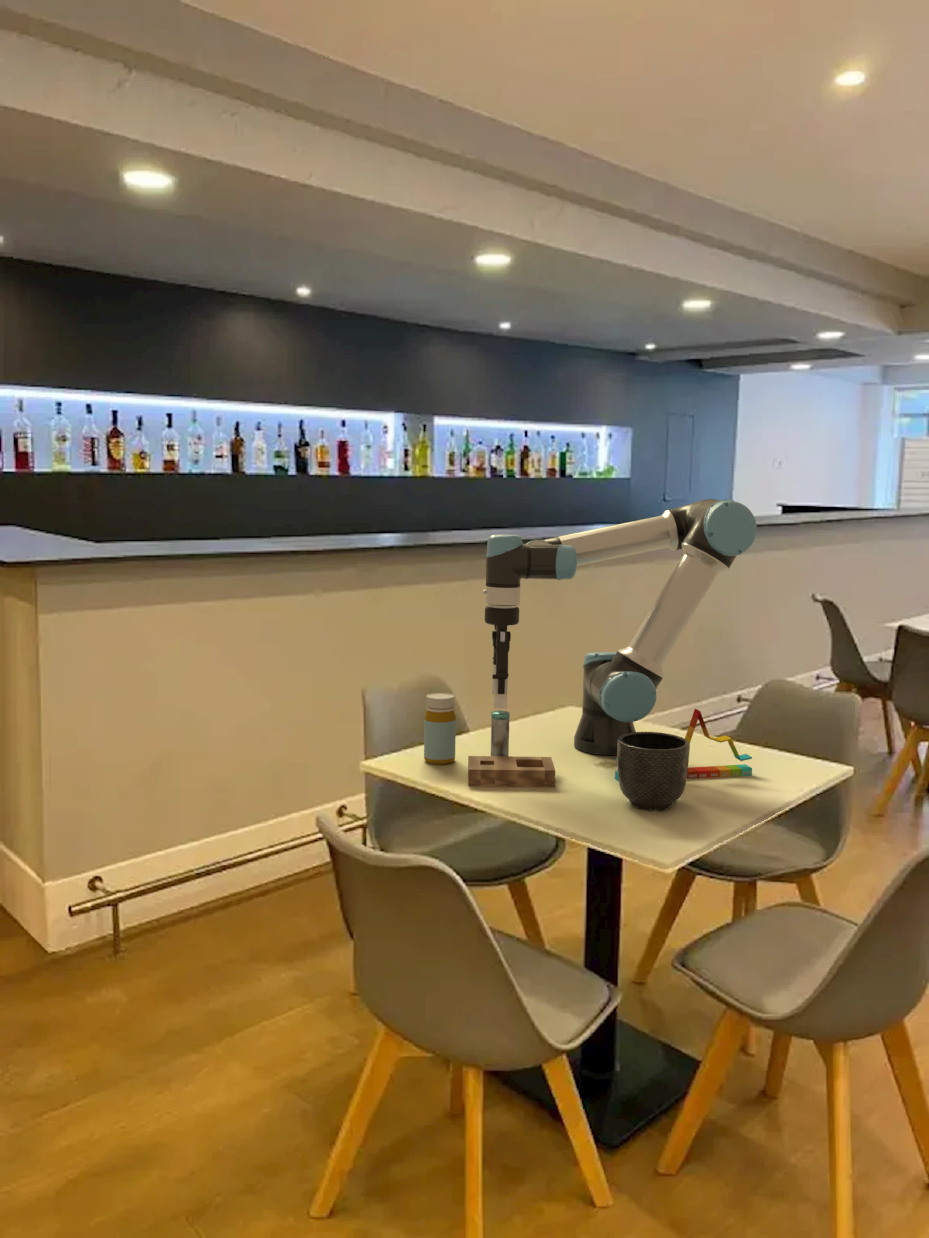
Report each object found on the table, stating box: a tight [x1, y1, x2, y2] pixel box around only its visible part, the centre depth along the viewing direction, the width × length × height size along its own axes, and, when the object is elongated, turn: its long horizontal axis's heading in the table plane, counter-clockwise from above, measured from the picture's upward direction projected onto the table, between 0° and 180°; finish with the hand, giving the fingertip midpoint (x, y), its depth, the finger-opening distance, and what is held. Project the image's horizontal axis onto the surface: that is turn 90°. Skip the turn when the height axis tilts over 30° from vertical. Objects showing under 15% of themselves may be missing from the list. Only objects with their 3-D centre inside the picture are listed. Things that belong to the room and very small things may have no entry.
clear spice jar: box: [490, 710, 510, 756], centre depth 216 cm, size 4×4×12 cm
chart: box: [614, 708, 753, 782], centre depth 209 cm, size 30×3×15 cm, turn 102°
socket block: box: [467, 755, 556, 788], centre depth 207 cm, size 18×10×4 cm, turn 90°
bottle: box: [423, 692, 457, 766], centre depth 219 cm, size 7×7×15 cm
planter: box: [616, 731, 691, 811], centre depth 192 cm, size 14×14×13 cm
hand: (499, 701), depth 215 cm, fingers open, 13 cm apart
